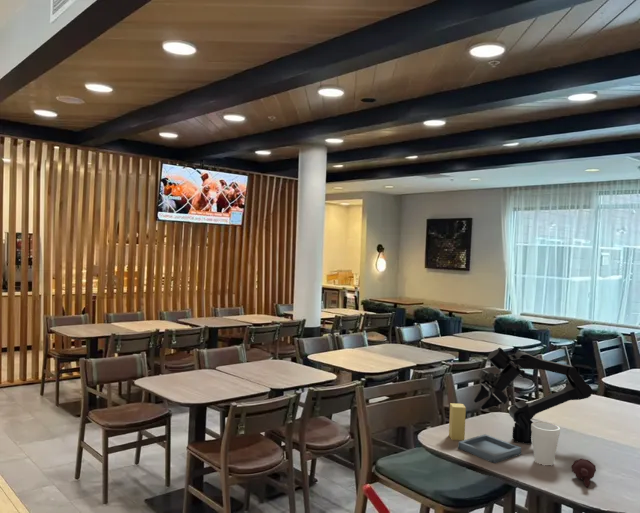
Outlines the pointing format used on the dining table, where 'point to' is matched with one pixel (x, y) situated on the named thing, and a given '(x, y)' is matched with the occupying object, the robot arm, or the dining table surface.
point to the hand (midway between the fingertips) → (478, 405)
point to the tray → (489, 448)
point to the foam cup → (545, 442)
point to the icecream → (584, 470)
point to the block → (457, 421)
